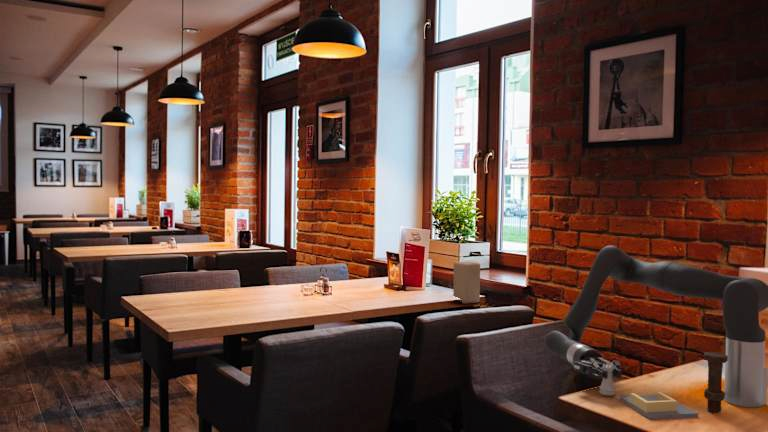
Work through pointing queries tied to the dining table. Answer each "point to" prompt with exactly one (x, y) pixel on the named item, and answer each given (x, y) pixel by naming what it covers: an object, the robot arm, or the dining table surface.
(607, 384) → the rook chess piece
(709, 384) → the bolt
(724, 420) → the dining table surface
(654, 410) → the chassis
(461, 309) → the dining table surface
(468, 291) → the block
